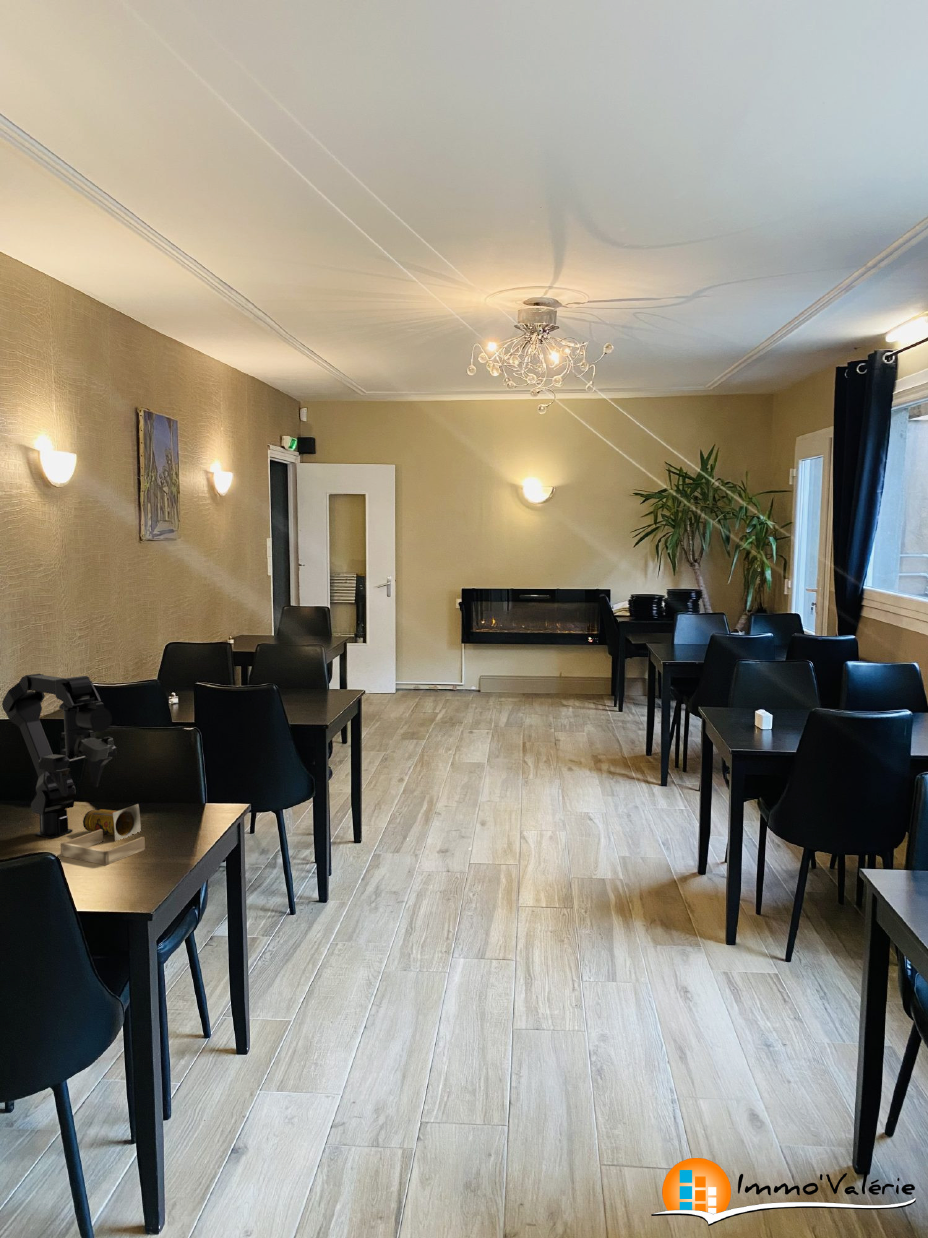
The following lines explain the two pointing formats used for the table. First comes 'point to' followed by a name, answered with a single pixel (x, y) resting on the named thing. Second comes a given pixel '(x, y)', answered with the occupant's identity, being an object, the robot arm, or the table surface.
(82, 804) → the table surface
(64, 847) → the wooden bracket
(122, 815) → the condiment
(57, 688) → the robot arm
